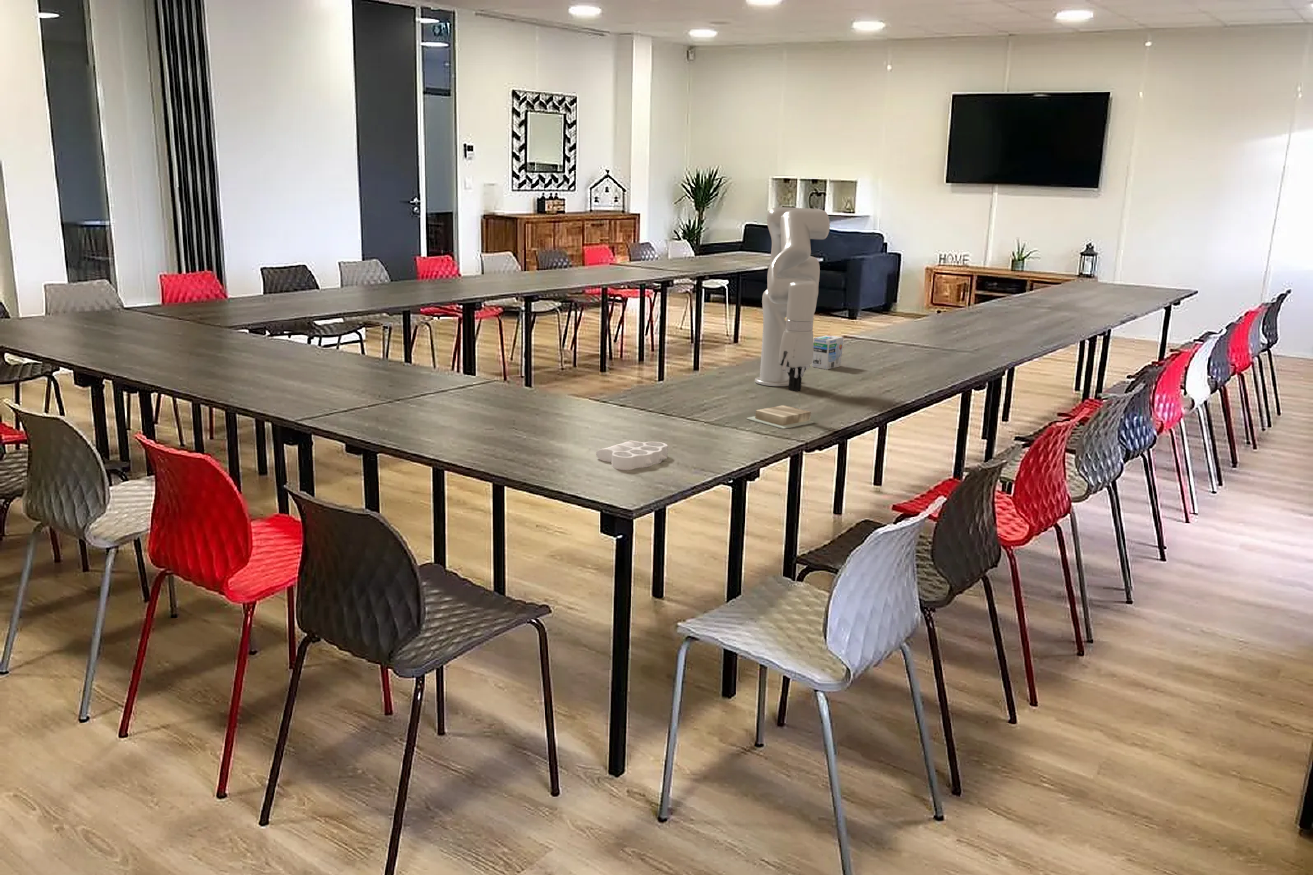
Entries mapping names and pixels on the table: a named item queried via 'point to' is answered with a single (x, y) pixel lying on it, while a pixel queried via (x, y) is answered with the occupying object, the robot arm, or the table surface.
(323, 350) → the table surface
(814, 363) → the light bulb box
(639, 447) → the white muffin tray
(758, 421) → the mat
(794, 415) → the birch tile
